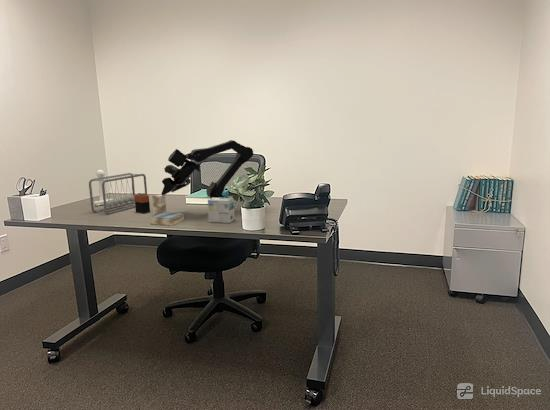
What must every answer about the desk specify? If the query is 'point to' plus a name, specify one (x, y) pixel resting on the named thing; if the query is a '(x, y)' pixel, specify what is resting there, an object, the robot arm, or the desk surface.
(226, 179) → the robot arm
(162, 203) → the birch snap block
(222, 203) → the light bulb box
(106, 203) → the newton's cradle
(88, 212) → the desk surface
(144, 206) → the battery
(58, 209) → the desk surface
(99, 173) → the joystick
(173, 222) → the foundation plinth
